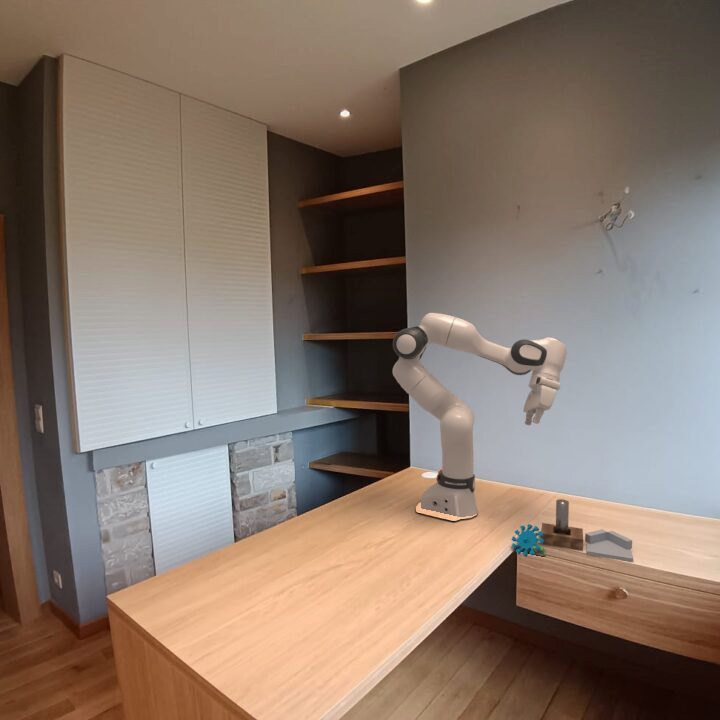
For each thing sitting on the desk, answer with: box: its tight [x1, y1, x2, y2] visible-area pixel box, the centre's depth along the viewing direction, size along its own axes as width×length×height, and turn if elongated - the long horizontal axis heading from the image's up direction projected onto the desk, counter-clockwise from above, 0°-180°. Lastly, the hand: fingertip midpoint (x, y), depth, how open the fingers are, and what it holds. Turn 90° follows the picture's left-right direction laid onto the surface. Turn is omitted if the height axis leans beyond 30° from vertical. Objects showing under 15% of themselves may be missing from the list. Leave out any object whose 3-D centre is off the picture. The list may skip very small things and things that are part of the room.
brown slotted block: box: [540, 522, 584, 552], centre depth 150 cm, size 12×8×4 cm, turn 66°
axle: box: [555, 498, 570, 535], centre depth 150 cm, size 4×4×13 cm
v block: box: [584, 528, 634, 563], centre depth 145 cm, size 13×12×4 cm
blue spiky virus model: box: [511, 523, 547, 558], centre depth 145 cm, size 11×6×10 cm
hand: (531, 423), depth 159 cm, fingers open, 8 cm apart
